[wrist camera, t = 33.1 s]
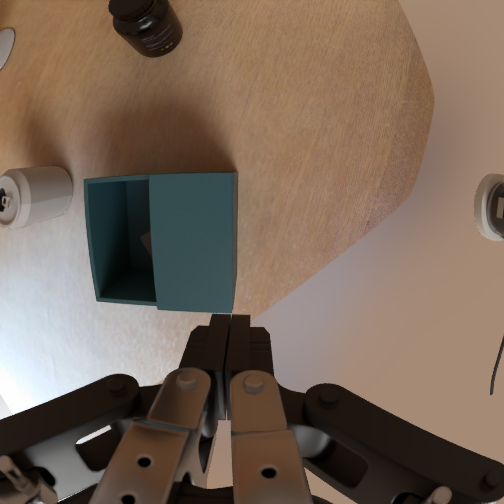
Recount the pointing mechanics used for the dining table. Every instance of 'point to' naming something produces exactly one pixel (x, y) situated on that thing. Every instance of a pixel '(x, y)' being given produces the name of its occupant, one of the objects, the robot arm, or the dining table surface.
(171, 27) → the supplement bottle
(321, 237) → the dining table surface
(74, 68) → the dining table surface
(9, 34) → the chalice
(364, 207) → the dining table surface
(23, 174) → the can
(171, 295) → the flap
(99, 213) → the carton
